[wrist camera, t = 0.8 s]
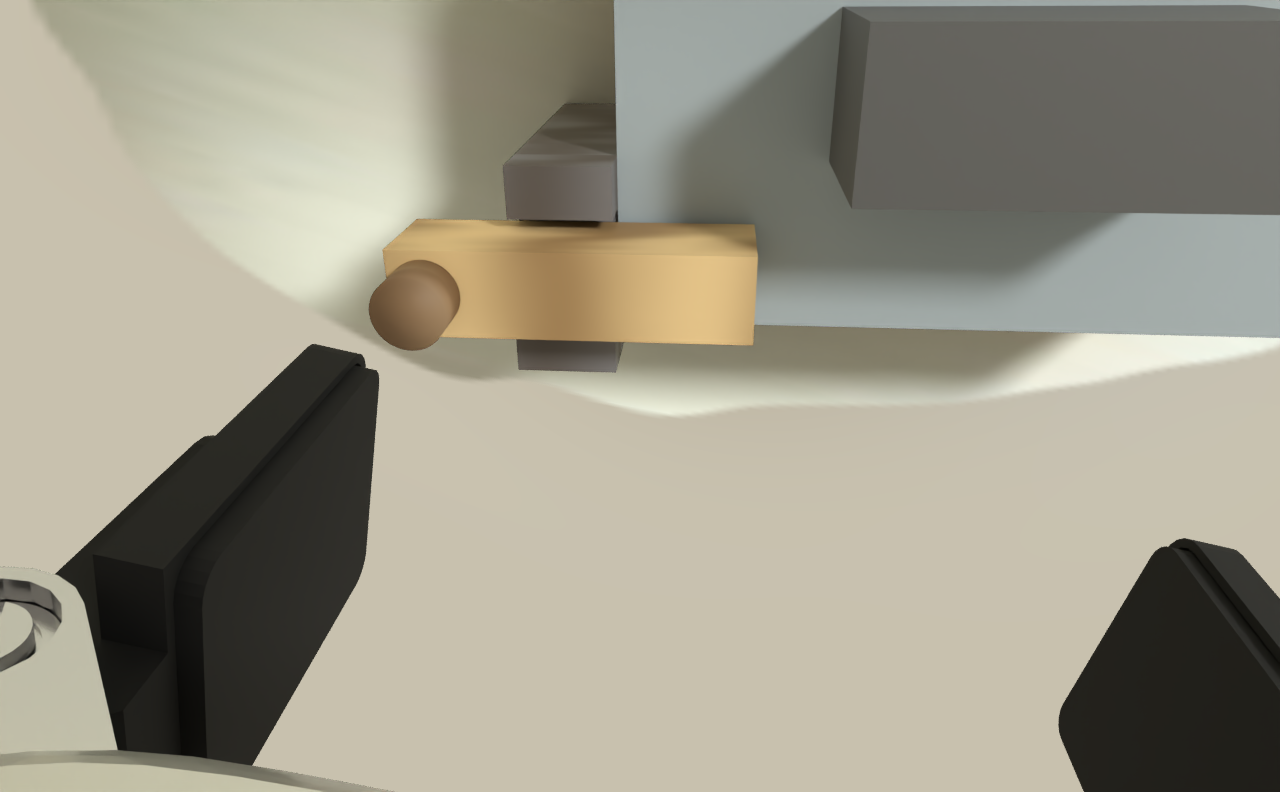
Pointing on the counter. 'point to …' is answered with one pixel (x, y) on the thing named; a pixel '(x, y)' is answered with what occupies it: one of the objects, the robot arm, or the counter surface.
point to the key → (568, 282)
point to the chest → (567, 209)
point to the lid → (968, 157)
